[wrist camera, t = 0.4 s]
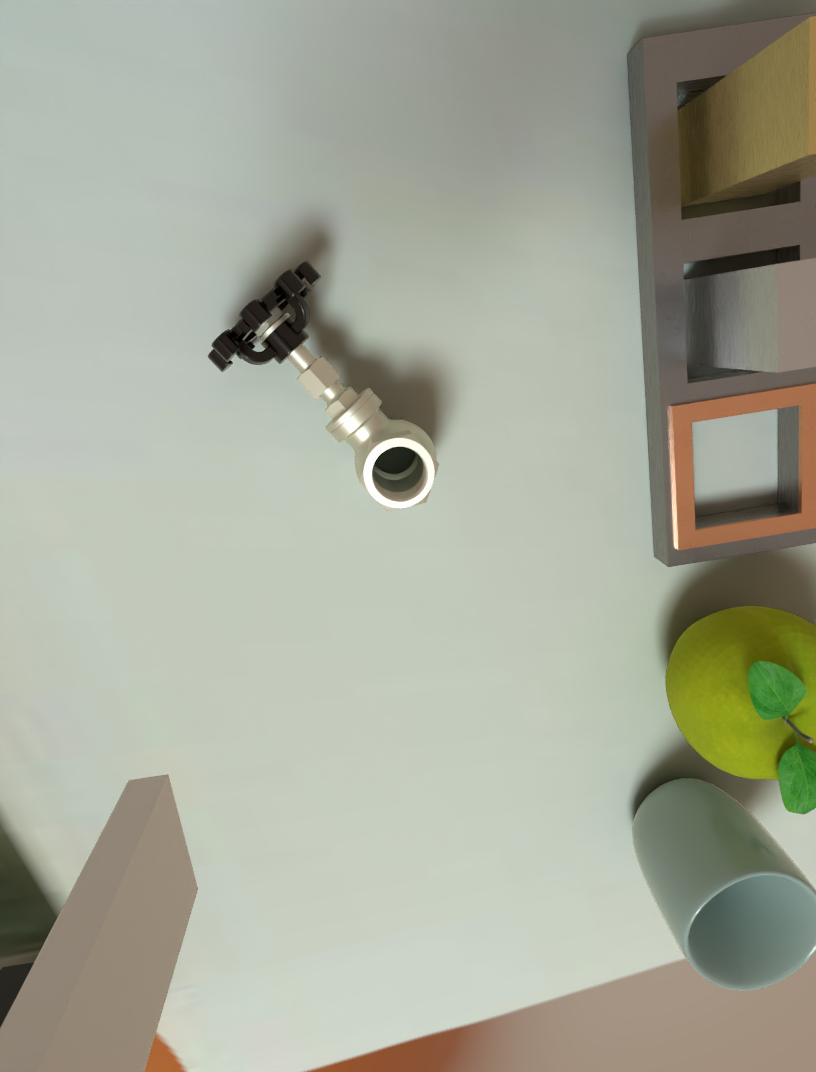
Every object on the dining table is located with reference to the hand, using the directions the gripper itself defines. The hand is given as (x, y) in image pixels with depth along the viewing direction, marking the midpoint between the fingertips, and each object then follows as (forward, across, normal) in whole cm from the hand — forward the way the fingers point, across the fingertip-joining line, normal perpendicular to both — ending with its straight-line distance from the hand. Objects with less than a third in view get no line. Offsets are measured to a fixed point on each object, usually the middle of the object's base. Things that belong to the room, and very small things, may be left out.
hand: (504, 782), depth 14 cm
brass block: (+27, +18, +15) cm, 36 cm away
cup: (+27, +15, -24) cm, 39 cm away
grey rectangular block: (+27, +18, +7) cm, 33 cm away
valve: (+27, -3, +6) cm, 28 cm away
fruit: (+27, +17, -13) cm, 34 cm away
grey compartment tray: (+27, +18, +7) cm, 33 cm away
